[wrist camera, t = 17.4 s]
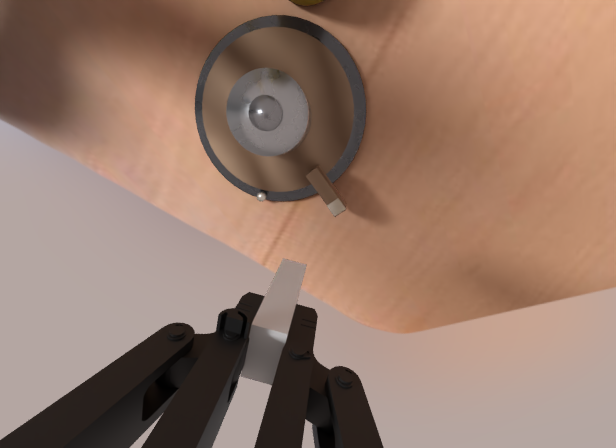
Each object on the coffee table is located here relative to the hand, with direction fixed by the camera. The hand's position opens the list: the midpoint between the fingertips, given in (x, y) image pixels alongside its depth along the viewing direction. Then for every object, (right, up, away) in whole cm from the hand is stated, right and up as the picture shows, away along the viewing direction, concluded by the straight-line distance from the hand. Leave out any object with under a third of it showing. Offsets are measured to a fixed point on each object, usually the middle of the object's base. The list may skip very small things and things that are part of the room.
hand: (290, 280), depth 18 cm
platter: (-1, +15, +19) cm, 25 cm away
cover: (-3, +17, +18) cm, 25 cm away
